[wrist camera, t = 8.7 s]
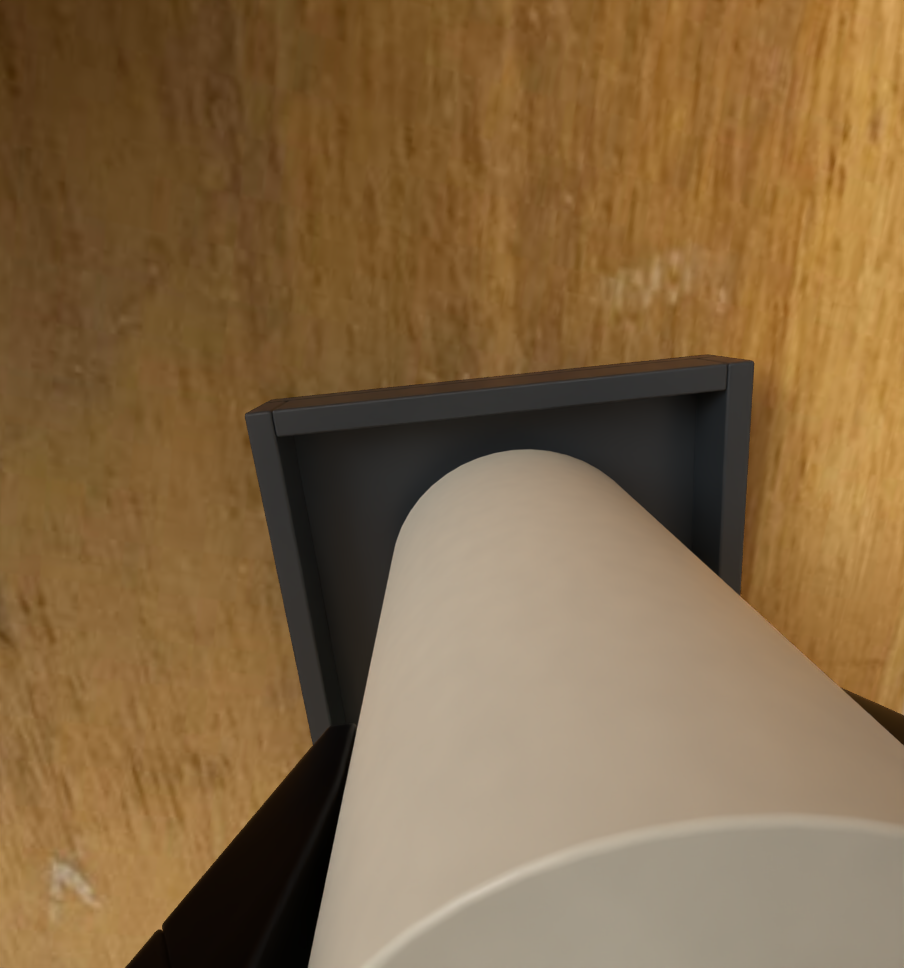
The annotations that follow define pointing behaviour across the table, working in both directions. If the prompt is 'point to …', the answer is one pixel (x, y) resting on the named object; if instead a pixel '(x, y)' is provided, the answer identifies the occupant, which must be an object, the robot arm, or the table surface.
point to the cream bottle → (599, 755)
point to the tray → (458, 440)
